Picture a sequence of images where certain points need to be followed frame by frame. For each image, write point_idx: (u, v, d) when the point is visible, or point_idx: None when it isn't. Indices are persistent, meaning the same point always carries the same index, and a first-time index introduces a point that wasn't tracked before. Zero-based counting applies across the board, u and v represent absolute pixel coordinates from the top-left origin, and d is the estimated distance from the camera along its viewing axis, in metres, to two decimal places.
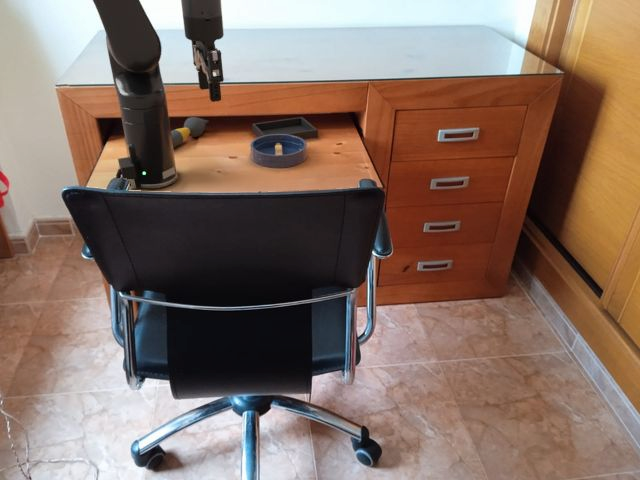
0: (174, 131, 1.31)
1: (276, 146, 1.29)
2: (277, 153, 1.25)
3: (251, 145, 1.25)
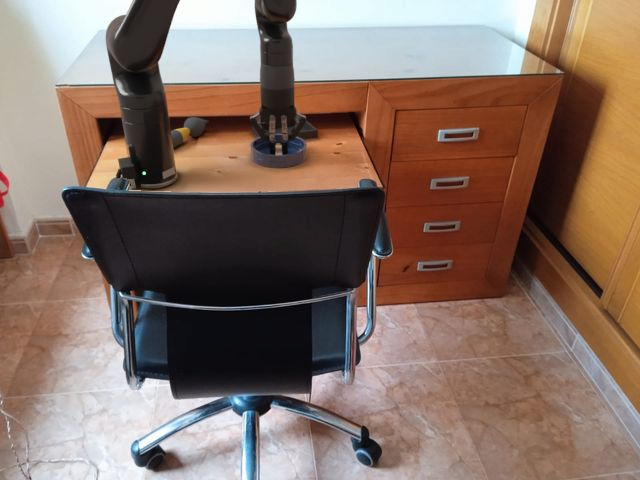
0: (174, 131, 1.31)
1: (276, 146, 1.29)
2: (277, 153, 1.25)
3: (251, 145, 1.25)
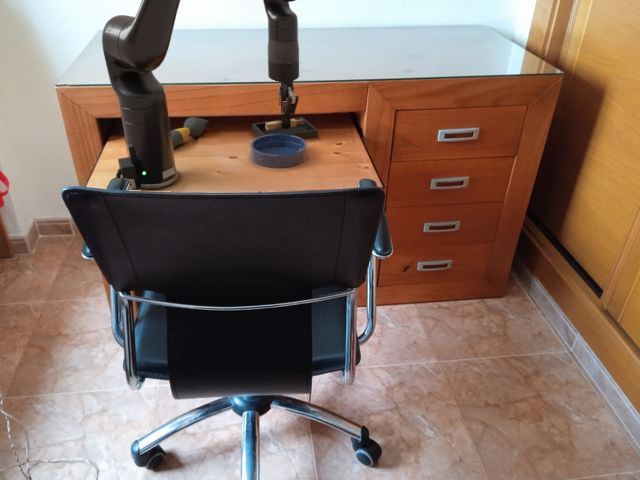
0: (174, 131, 1.31)
1: (291, 119, 1.39)
2: (276, 121, 1.37)
3: (251, 145, 1.25)
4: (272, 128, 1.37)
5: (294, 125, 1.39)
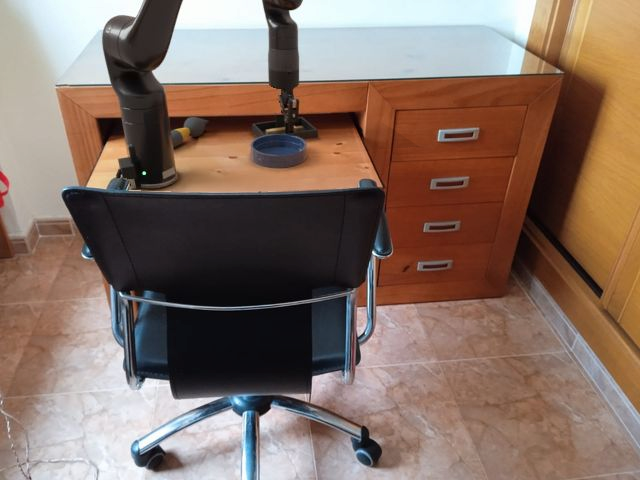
0: (174, 131, 1.31)
1: None
2: (276, 128, 1.39)
3: (251, 145, 1.25)
4: None
5: None
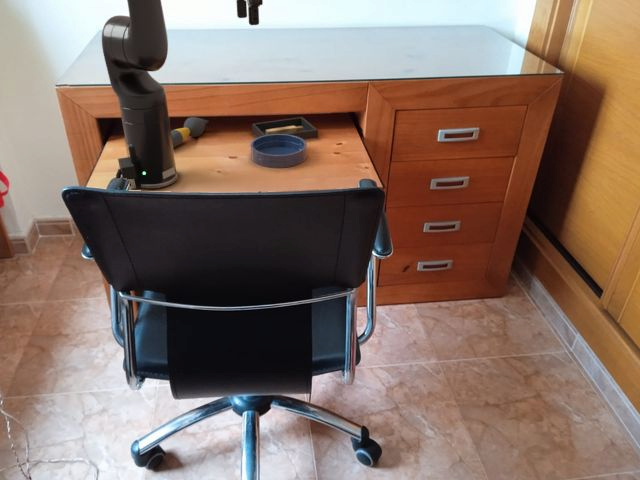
0: (174, 131, 1.31)
1: (291, 126, 1.40)
2: (276, 128, 1.39)
3: (251, 145, 1.25)
4: None
5: None
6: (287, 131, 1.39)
